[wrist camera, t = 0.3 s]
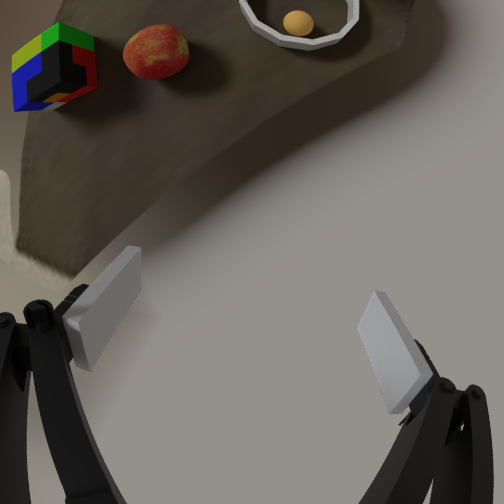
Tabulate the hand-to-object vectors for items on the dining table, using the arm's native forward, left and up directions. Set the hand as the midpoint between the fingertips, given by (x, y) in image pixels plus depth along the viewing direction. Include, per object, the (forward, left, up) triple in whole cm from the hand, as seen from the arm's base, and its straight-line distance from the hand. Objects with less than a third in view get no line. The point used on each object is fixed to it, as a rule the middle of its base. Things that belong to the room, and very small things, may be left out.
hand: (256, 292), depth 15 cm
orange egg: (-25, +3, -27) cm, 37 cm away
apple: (-19, -15, -27) cm, 36 cm away
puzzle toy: (-19, -32, -27) cm, 46 cm away
